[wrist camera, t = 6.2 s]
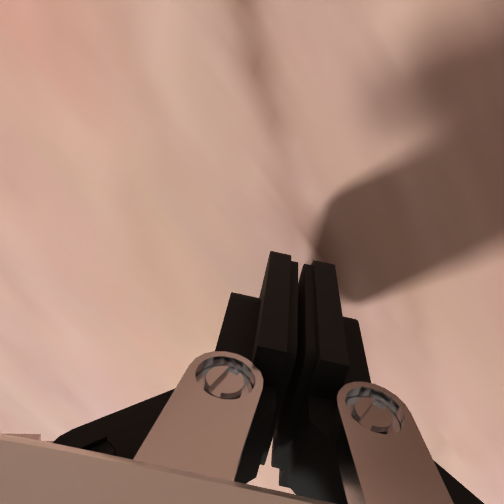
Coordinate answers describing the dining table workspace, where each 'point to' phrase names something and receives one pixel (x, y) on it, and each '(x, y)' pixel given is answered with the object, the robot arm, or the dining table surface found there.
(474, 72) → the dining table surface
